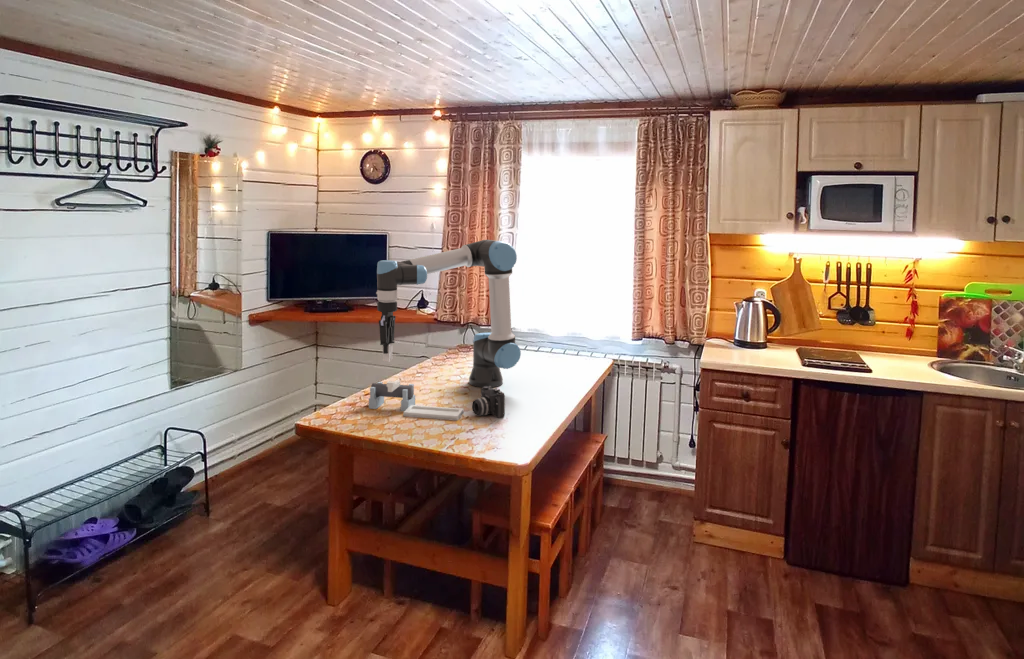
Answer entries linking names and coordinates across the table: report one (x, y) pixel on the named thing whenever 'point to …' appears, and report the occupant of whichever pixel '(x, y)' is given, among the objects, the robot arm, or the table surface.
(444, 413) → the tray
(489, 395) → the camera
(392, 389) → the white l-shaped hook
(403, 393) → the cradle
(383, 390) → the gray cylinder
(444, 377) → the table surface
